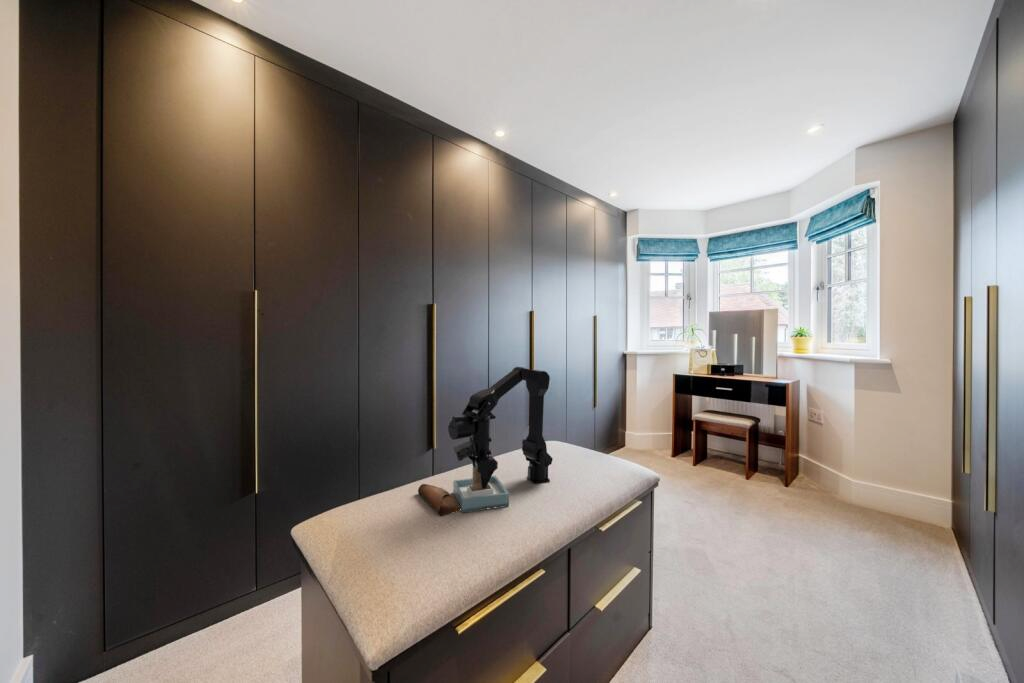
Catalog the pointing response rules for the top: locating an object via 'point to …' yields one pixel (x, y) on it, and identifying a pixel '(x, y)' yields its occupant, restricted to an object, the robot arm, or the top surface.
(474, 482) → the brown wooden block
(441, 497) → the sunglasses case
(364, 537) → the top surface
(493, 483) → the candle dish
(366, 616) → the top surface
